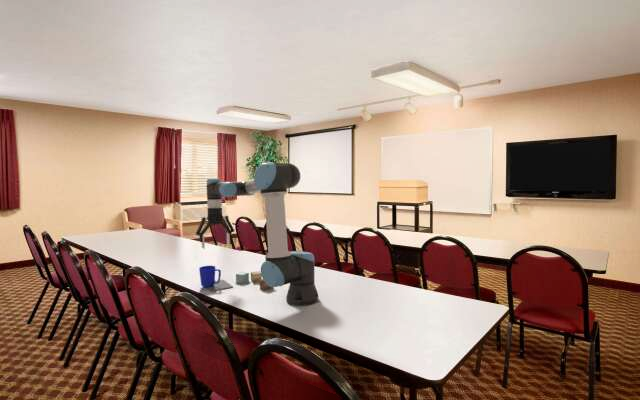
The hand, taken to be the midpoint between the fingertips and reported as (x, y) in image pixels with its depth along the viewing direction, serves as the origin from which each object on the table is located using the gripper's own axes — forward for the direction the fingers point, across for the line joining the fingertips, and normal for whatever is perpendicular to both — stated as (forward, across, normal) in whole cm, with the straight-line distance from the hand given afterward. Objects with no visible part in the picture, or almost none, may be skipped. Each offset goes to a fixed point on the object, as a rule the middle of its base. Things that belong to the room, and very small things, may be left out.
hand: (216, 246), depth 193 cm
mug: (+21, +4, 0) cm, 21 cm away
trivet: (+22, 0, 0) cm, 22 cm away
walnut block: (+22, -20, +20) cm, 36 cm away
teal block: (+22, -14, +1) cm, 26 cm away
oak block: (+22, -21, +4) cm, 30 cm away
